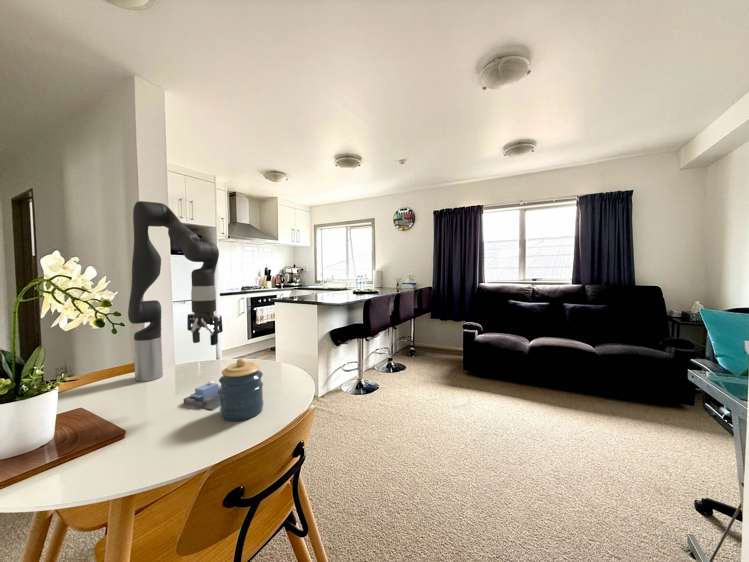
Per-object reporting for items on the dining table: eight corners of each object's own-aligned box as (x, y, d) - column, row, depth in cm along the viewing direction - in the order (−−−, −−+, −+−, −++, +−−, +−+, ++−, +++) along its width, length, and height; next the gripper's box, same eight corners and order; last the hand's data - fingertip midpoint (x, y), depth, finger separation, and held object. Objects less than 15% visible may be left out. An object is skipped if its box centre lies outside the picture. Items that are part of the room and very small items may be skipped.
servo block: (190, 404, 104) (190, 388, 104) (214, 393, 113) (214, 378, 113) (199, 406, 102) (198, 389, 102) (222, 395, 111) (222, 379, 111)
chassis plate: (183, 403, 104) (183, 397, 104) (211, 391, 115) (210, 385, 114) (212, 410, 100) (212, 403, 99) (238, 396, 110) (238, 390, 110)
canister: (215, 425, 90) (213, 367, 89) (224, 405, 103) (223, 354, 102) (261, 418, 94) (260, 363, 93) (265, 400, 106) (263, 351, 105)
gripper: (179, 298, 105) (181, 344, 106) (209, 300, 100) (210, 348, 101) (198, 296, 112) (200, 339, 113) (227, 298, 107) (228, 343, 108)
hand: (205, 343), depth 107 cm, fingers open, 8 cm apart
